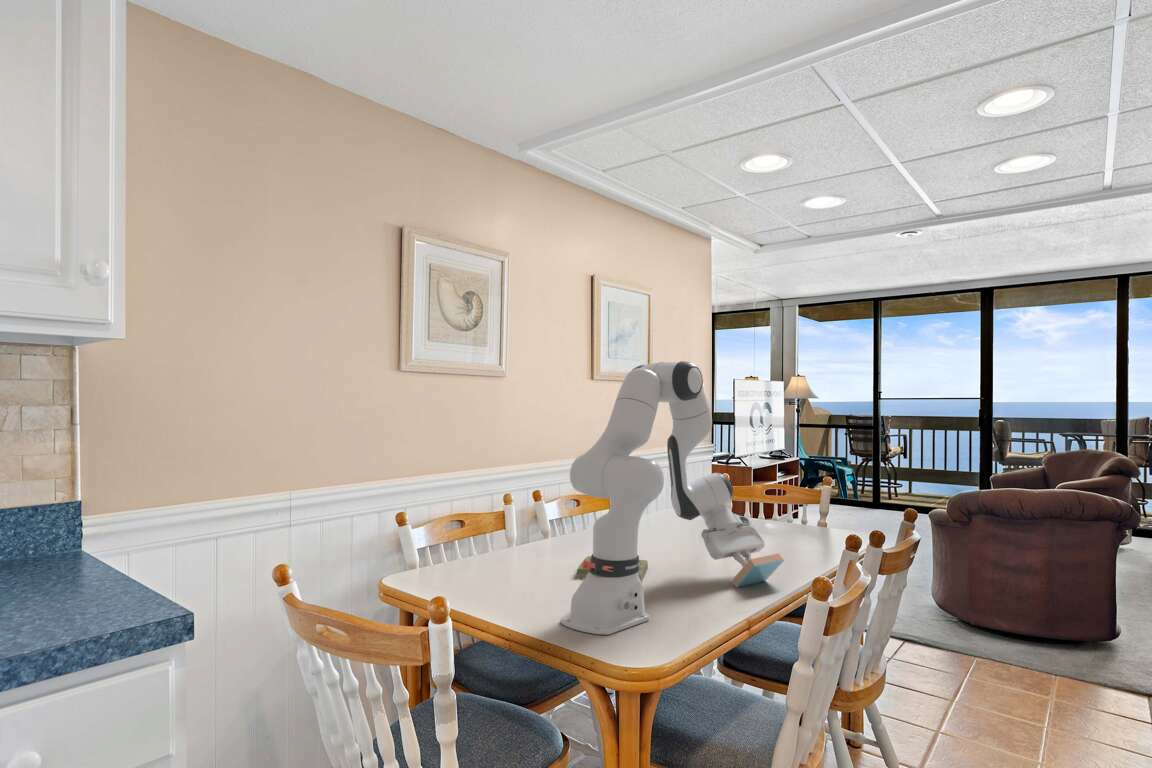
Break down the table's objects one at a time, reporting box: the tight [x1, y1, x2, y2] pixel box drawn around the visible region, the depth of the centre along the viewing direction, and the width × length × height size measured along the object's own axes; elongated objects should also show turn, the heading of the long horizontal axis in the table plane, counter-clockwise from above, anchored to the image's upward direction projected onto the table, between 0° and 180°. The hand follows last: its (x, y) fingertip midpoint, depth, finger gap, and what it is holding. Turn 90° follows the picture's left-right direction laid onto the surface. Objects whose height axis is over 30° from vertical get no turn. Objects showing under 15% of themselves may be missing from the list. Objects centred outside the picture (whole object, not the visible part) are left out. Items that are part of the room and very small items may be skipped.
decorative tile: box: [575, 555, 649, 583], centre depth 193 cm, size 19×20×4 cm
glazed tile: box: [731, 553, 785, 588], centre depth 180 cm, size 12×2×10 cm
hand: (749, 566), depth 183 cm, fingers closed
